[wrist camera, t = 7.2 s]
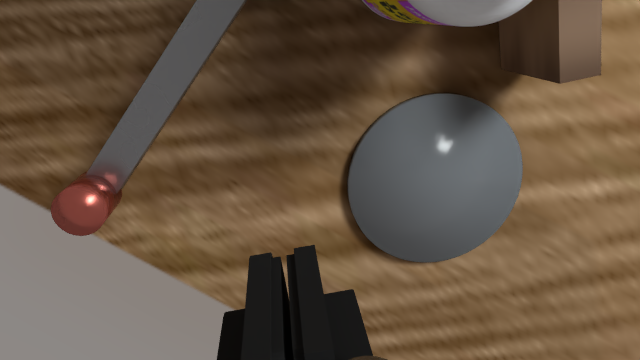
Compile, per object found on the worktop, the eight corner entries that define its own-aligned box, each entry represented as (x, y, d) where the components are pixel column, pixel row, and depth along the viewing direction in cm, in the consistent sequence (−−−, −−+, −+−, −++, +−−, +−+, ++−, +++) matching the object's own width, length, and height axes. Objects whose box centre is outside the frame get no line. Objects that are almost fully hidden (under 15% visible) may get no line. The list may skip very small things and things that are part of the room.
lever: (256, -142, 23) (251, -205, 16) (341, -69, 24) (367, -99, 18) (73, 153, 27) (7, 200, 20) (155, 202, 28) (119, 260, 21)
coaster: (332, 114, 28) (333, 116, 27) (513, 75, 28) (518, 76, 28) (362, 273, 32) (364, 278, 31) (521, 237, 32) (526, 241, 31)
